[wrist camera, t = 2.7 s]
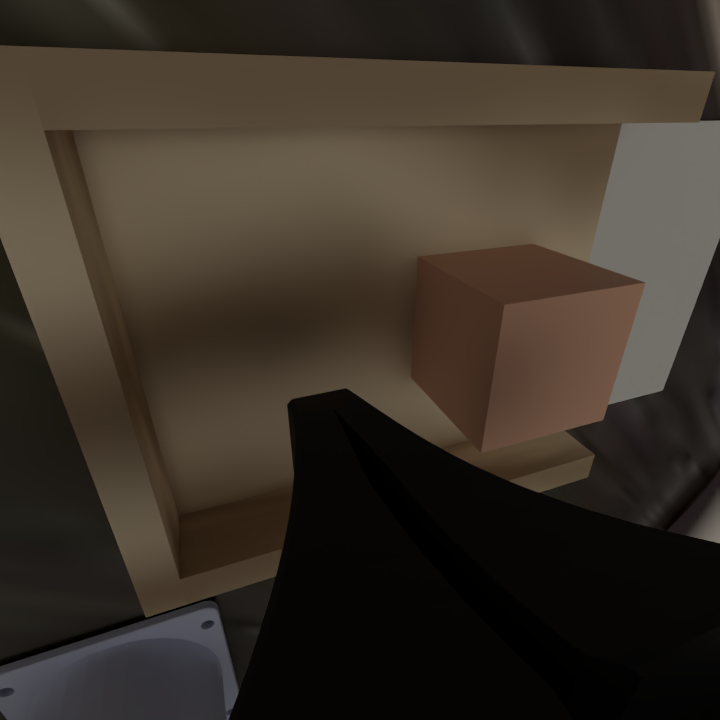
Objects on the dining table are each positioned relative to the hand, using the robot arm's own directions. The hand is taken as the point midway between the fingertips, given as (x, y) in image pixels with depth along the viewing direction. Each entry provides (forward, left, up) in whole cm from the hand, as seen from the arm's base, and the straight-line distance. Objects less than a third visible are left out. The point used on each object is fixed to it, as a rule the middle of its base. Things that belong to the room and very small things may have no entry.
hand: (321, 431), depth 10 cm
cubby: (0, -3, -5) cm, 6 cm away
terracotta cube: (0, -7, -5) cm, 8 cm away
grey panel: (0, -15, -5) cm, 16 cm away
